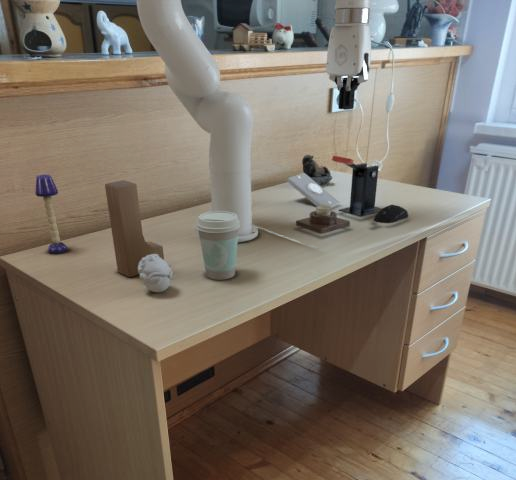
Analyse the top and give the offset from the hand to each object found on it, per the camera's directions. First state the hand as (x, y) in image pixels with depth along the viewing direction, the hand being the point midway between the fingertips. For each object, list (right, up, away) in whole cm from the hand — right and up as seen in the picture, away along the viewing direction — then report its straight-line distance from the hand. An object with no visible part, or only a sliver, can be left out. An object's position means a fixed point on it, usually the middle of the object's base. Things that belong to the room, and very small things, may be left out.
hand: (345, 108), depth 127 cm
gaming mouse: (+13, -25, +11) cm, 30 cm away
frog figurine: (-40, -46, -26) cm, 67 cm away
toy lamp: (-67, -35, -5) cm, 76 cm away
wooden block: (-45, -41, -16) cm, 63 cm away
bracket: (+7, -21, +18) cm, 29 cm away
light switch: (-5, -16, +26) cm, 32 cm away
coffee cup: (-29, -42, -19) cm, 55 cm away
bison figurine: (-2, -4, +48) cm, 48 cm away
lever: (+4, -12, +10) cm, 16 cm away
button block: (-5, -27, +6) cm, 29 cm away
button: (-5, -24, +5) cm, 25 cm away
